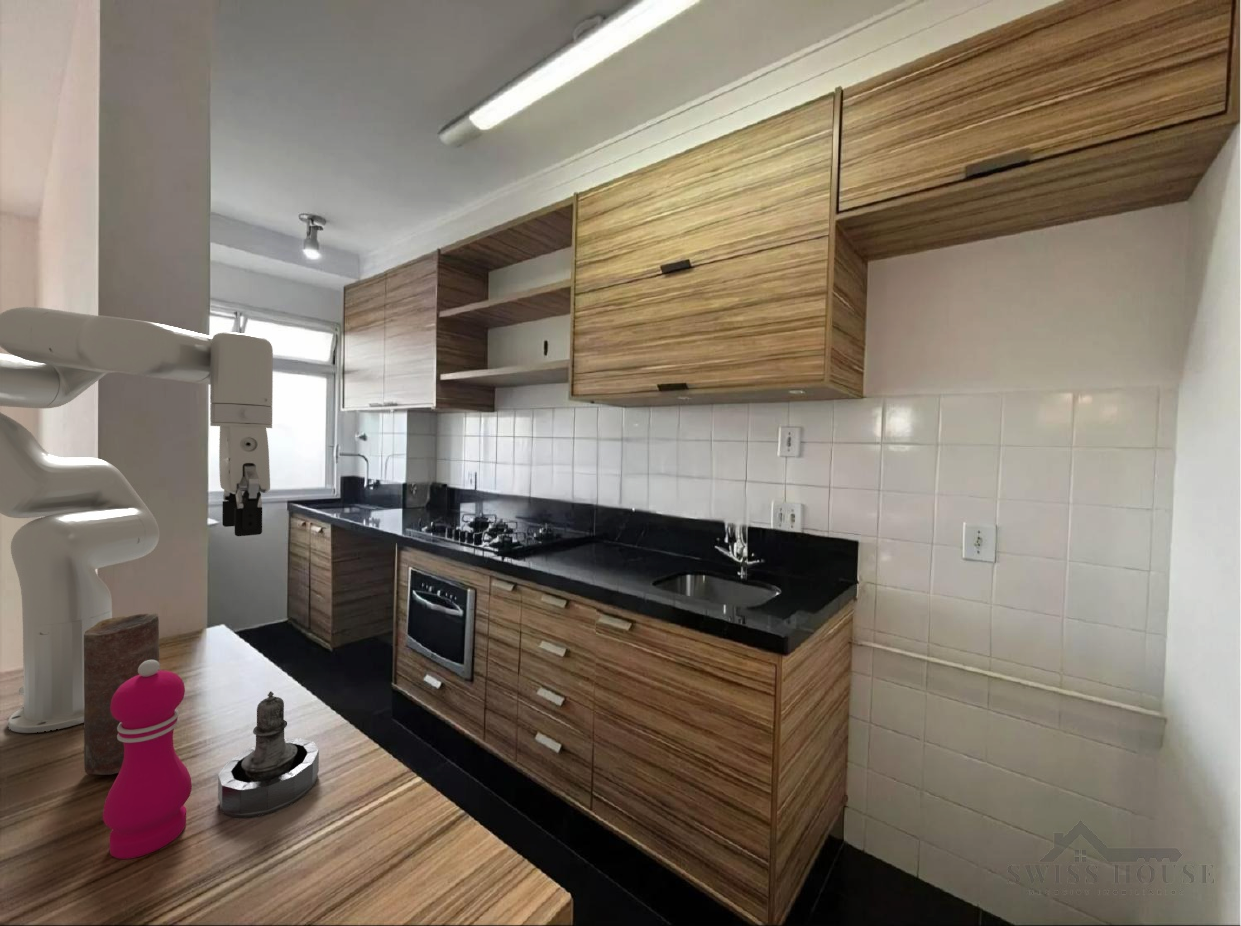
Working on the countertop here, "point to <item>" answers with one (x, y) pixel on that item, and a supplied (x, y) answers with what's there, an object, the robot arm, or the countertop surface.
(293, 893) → the countertop surface
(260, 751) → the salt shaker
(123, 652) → the candle
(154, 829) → the pepper mill
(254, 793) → the dark gray faceted bowl
